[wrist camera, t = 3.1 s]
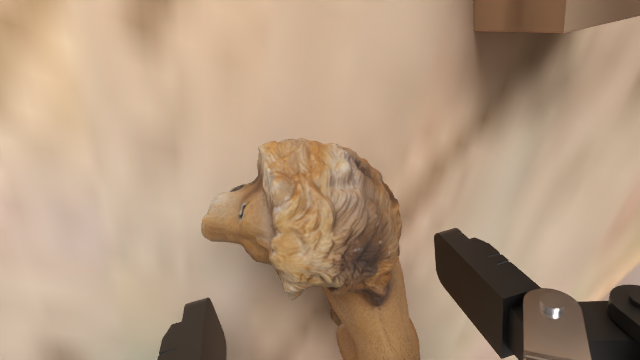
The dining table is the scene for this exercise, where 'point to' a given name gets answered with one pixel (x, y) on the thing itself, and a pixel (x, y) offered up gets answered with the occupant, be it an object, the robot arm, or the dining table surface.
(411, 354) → the lion figurine
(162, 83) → the dining table surface
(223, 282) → the dining table surface
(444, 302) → the dining table surface
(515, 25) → the walnut block
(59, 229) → the dining table surface
